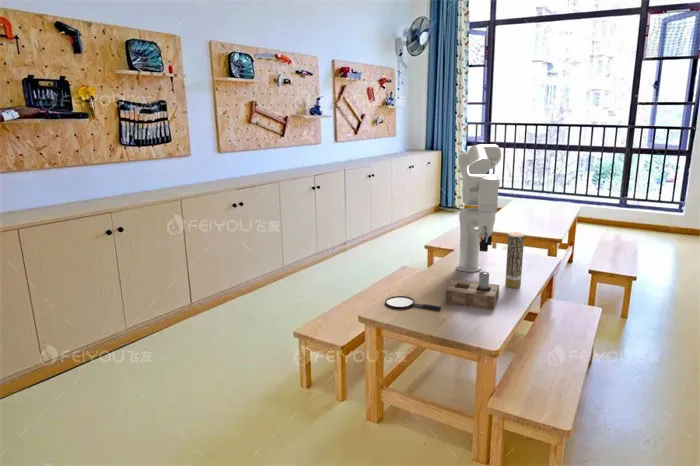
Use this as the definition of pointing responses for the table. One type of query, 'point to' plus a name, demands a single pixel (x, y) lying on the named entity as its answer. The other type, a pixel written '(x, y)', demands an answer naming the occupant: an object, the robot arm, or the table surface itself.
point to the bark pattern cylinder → (514, 259)
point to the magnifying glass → (407, 303)
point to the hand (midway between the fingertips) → (485, 248)
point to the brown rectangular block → (472, 294)
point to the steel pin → (483, 281)
